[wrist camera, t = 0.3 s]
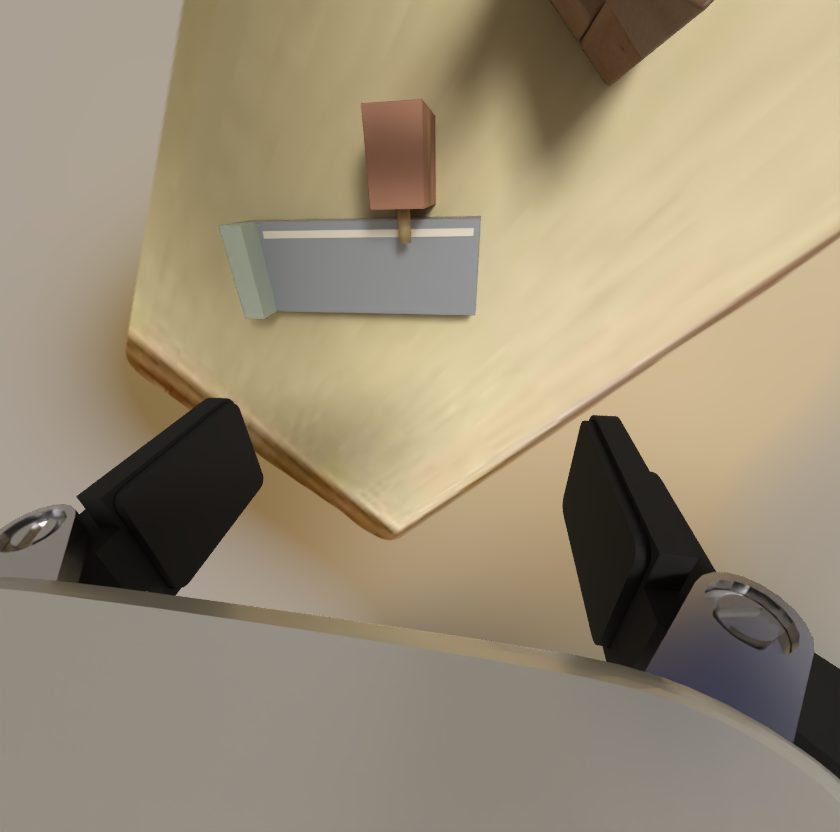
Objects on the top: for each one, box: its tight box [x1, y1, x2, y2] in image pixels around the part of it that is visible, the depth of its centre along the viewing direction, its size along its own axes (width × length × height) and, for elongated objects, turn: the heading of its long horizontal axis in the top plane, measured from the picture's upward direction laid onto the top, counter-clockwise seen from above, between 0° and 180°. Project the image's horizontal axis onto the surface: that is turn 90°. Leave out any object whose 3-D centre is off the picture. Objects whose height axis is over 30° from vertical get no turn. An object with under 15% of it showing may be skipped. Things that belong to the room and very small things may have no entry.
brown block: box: [361, 99, 436, 243], centre depth 28 cm, size 8×4×7 cm, turn 1°
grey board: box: [219, 216, 481, 319], centre depth 33 cm, size 8×22×5 cm, turn 91°
